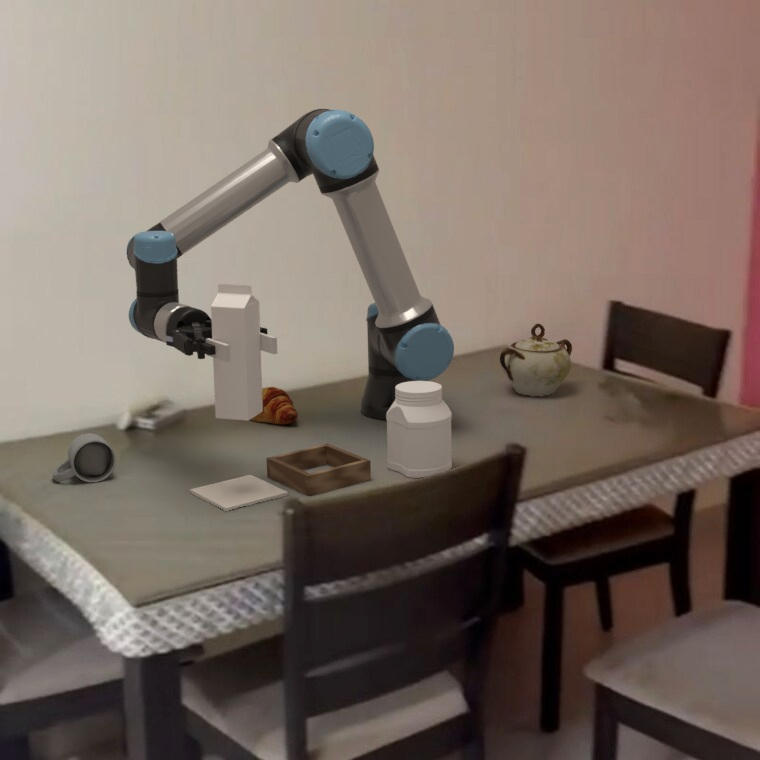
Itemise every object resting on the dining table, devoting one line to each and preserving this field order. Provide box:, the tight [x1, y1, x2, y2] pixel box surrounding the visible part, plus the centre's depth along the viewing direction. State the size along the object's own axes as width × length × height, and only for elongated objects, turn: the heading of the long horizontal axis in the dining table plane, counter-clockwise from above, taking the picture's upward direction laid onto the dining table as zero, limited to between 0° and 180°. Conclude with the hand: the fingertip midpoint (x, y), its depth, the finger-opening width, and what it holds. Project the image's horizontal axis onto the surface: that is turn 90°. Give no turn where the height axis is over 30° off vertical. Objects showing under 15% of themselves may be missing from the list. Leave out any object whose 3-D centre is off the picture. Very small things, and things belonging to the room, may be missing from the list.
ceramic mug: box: [51, 432, 117, 484], centre depth 221 cm, size 11×8×8 cm
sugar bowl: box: [499, 323, 573, 397], centre depth 270 cm, size 20×15×15 cm
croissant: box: [251, 386, 299, 425], centre depth 256 cm, size 21×10×8 cm, turn 37°
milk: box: [210, 283, 263, 422], centre depth 206 cm, size 6×6×22 cm
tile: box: [189, 474, 289, 512], centre depth 211 cm, size 12×12×1 cm
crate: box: [266, 443, 372, 497], centre depth 218 cm, size 13×13×4 cm
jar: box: [386, 380, 453, 479], centre depth 221 cm, size 12×10×15 cm
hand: (251, 349), depth 202 cm, fingers closed on milk, 8 cm apart
